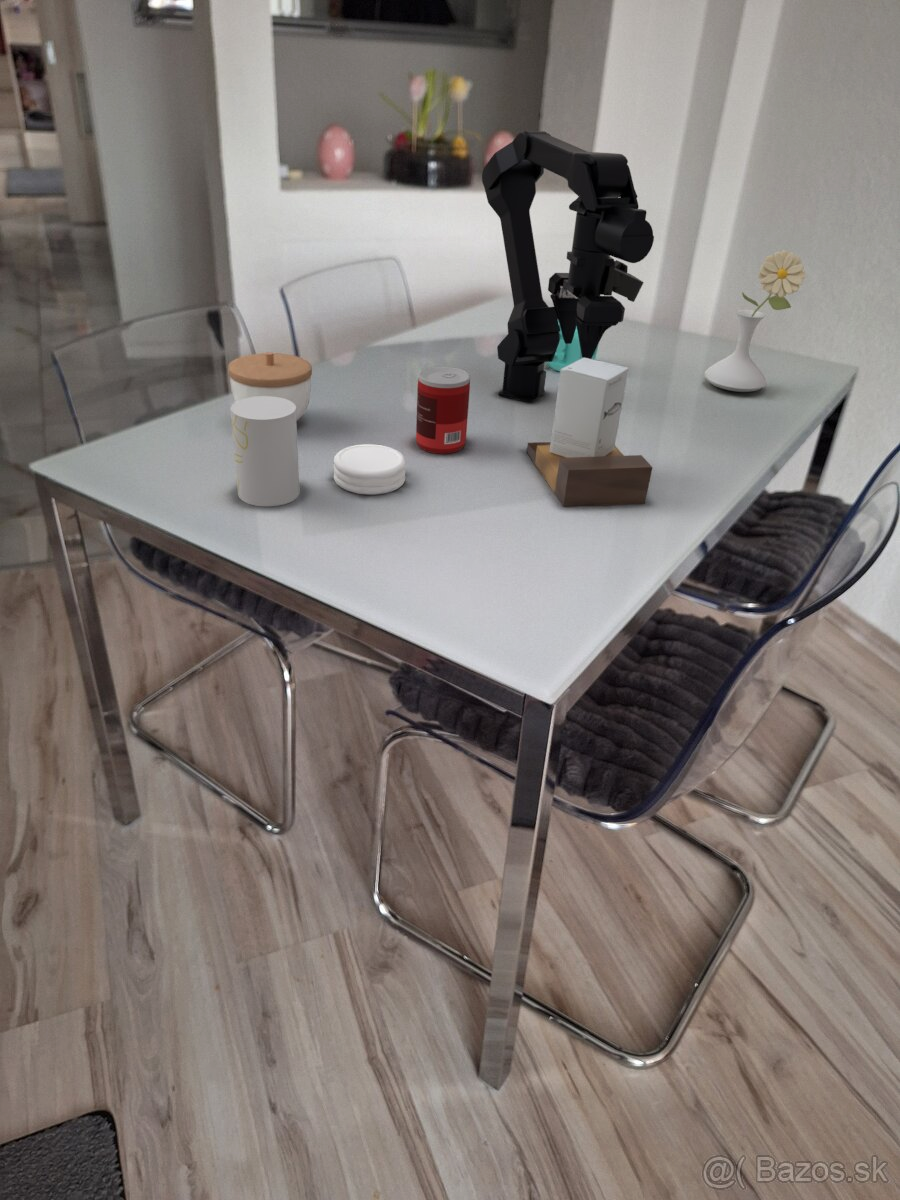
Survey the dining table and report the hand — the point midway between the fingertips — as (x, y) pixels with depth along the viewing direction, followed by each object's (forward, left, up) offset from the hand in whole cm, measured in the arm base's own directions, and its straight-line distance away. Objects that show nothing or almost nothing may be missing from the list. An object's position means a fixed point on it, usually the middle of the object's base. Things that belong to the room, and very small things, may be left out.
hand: (577, 352), depth 136 cm
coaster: (-15, -37, -12) cm, 42 cm away
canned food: (-13, -20, -12) cm, 27 cm away
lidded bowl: (-39, -28, -12) cm, 50 cm away
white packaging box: (+8, -16, -9) cm, 21 cm away
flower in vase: (+20, +37, -12) cm, 44 cm away
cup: (-24, -48, -12) cm, 55 cm away
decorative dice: (-11, +28, -12) cm, 33 cm away
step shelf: (+10, -18, -12) cm, 24 cm away
